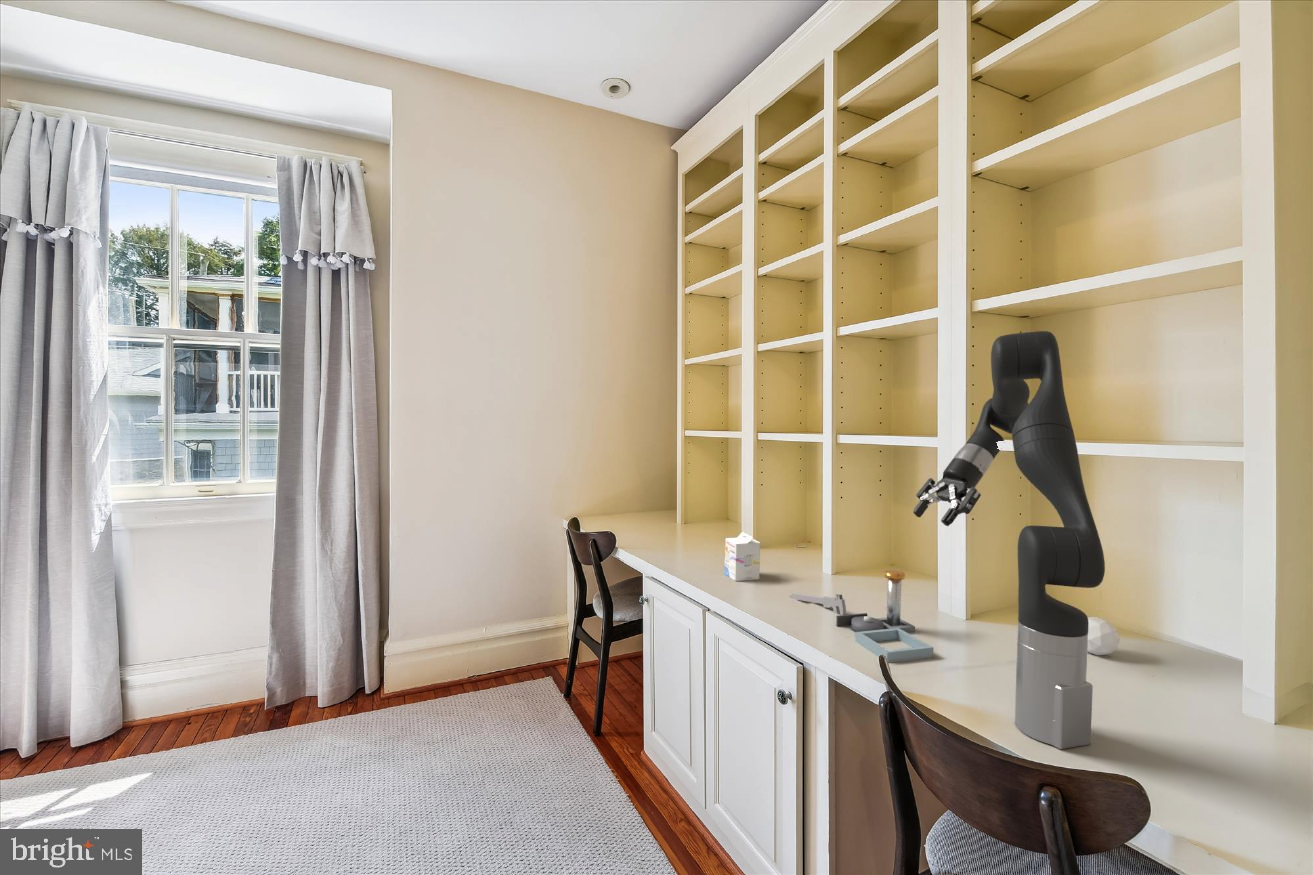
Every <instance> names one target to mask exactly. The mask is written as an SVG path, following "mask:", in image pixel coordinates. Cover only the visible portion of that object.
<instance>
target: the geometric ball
mask: <svg viewBox="0 0 1313 875" xmlns="http://www.w3.org/2000/svg"><path fill="white" fill-rule="evenodd" d="M1087 617H1088V616H1087ZM1088 623H1089V625H1088V647H1087V653H1089V654H1092V655H1096V656H1107V655H1108V656H1109V655H1110V654H1112V653H1114V652H1115V651H1116V650H1117V649H1118V647H1119V643H1120V637H1119V636H1120V635H1119V634H1118V630H1117V628H1116V627H1115V626H1114V625H1113V624H1111V623H1110V622H1109V621H1107V620H1105V619H1102V618H1100V617H1096V616H1091V617H1088Z"/></svg>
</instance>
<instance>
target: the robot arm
mask: <svg viewBox="0 0 1313 875" xmlns="http://www.w3.org/2000/svg"><path fill="white" fill-rule="evenodd" d="M990 350H991V352H990V365H991V366H990V369H991V381H992V385H993V393H992V397H990V398H989V399H988V400H987V401H986V402H985V403H984V404H983V407H982V409H981V412H980V417H979V419H978V423H977V425H976V427H975V429H974V431H973V432H972V434H971V435H970V437H969V438H968V440H967V441H966V442H965V444H964V445H963V446H962V447H961V448H960V449H959V450H958V451H957V453H955V455H954V456H953V458H952V459H951V461H950V462H949V463H948V465H947V466H946V468H945V469H944V470H943V473H942V478H941V479H940V480H938V481H937V480H934V479H933V478H932V477H930V478H928V479H927V480H926V482H925V483H924V484H923V485H922V487H921V488H920V489H919V490H918V491H917V493H916V494H915V496H916V497H917V498H918V500H919V501H918V503H917V504H916V506H915V507H914V508H913V511H912V513H913V514H914V515H915V516H916V517H917V518H922V516H923V515H924V513H925V512H926V510H927V509H928V508H929V506H930V505H931V504H935V503H939V502H941V501H942V502H947V503H950V505H951V508H950V507H949V508H948V509H947V511H946V512H945V514H944V515H943V516H942V517H941V520H940V522H941V523H942V524H943V525H944V526H946V527H949V526H950V525H952V524H953V523H954V521H955V520H956V518H957V517H958V516H959V515H961V514H965V515H969V514H970V513H971V511H972V510H973V508H974V507H975V506H976V503H977V502H978V501H979V499H980V498H981V496H982V495H981V493H980V491H979V490H978V489H977V488H976V487H977V485H978V484H979V482H980V481H981V480H982V478H983V477H984V475H985V474H986V473H987V472H988V470H989V468H990V466H991V464H992V463H993V461H994V459H995V458H996V456H997V455H998V454H999V453H1000V451H1001V450H999V449H997V448H998V446H997V443H996V442H998V441H1004V442H1005V440H1004V438H1003V436H1002V435H1001V434H1000V433H999V432H997V431H996V430H995V429H994V427H995V428H996V429H999V430H1001V431H1003V432H1006V433H1007V434H1010V435H1011V439H1012V447H1013V452H1014V453H1013V455H1014V459H1015V463H1016V466H1017V468H1018V469H1019V471H1020V473H1021V474H1023V476H1024V477H1025V478H1026V479H1027V481H1029V482H1030V484H1031V485H1033V487H1034V488H1036V489H1037V490H1038V491H1039V492H1040V493H1041V494H1042V495H1043V496H1044V497H1045V498H1046V499H1047V501H1048V502H1050V504H1051V505H1052V506H1053V508H1054V509H1055V510H1056V513H1057V514H1058V516H1059V518H1060V520H1061V522H1062V524H1063V526H1051V525H1050V526H1049V525H1046V526H1045V525H1026V526H1024V527H1023V528H1022V529H1021V531H1020V532H1019V536H1018V539H1017V572H1018V573H1017V574H1018V575H1017V576H1018V577H1017V578H1018V579H1017V580H1018V587H1017V589H1018V592H1017V594H1018V595H1017V596H1018V597H1017V601H1018V602H1017V603H1018V606H1017V607H1018V616H1017V638H1016V640H1017V642H1016V670H1015V671H1016V673H1015V674H1016V675H1015V700H1014V702H1015V703H1014V704H1015V705H1014V706H1015V708H1014V724H1015V726H1016V728H1017V729H1018V730H1019V731H1020V732H1022V733H1023V734H1025V735H1027V736H1028V737H1030V738H1033V739H1034V740H1037V741H1040V742H1042V743H1044V744H1049V745H1051V746H1054V747H1055V748H1057V749H1059V750H1063V749H1068V748H1069V749H1070V748H1075V747H1080V746H1087V745H1091V742H1092V740H1091V738H1092V719H1093V718H1092V717H1093V716H1092V715H1093V714H1092V713H1093V687H1094V686H1093V684H1092V683H1091V682H1089V681H1087V670H1088V667H1087V666H1088V665H1087V664H1088V652H1087V647H1088V625H1089V623H1088V616H1087V614H1086V613H1085V612H1084V611H1082V610H1081V609H1079V608H1078V607H1075V606H1074V605H1071V604H1069V603H1066V602H1062V601H1061V600H1059V599H1056V598H1055V597H1053V596H1051V595H1050V594H1048V593H1047V589H1046V585H1049V586H1061V587H1070V588H1071V587H1072V588H1082V589H1083V588H1084V589H1090V588H1091V589H1092V588H1094V589H1095V588H1096V587H1098V586H1100V585H1101V584H1102V583H1103V581H1104V577H1105V571H1106V570H1105V569H1106V563H1105V554H1104V550H1103V546H1102V542H1101V538H1100V534H1099V532H1098V529H1097V525H1096V523H1095V520H1094V516H1093V514H1092V510H1091V506H1090V504H1089V500H1088V496H1087V494H1086V490H1085V486H1084V480H1083V475H1082V470H1081V469H1082V468H1081V466H1080V458H1079V450H1078V447H1077V442H1076V438H1075V433H1074V432H1075V431H1074V429H1073V425H1072V422H1071V416H1070V413H1069V410H1068V406H1067V400H1066V395H1065V389H1064V382H1063V373H1062V364H1061V356H1060V348H1059V345H1058V340H1057V338H1056V336H1055V335H1054V334H1053V333H1052V332H1050V331H1048V330H1047V331H1046V330H1037V331H1036V330H1035V331H1026V332H1017V333H1010V334H1005V335H1000V336H998V337H997V338H995V340H994V341H993V343H992V346H991V349H990ZM1035 379H1038V380H1040V384H1039V386H1038V389H1037V391H1036V393H1035V394H1034V396H1033V398H1032V399H1031V401H1030V402H1029V399H1030V395H1031V394H1030V393H1031V392H1030V387H1029V385H1028V383H1027V382H1026V380H1035ZM935 493H936V495H935Z"/></svg>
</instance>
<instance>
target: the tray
mask: <svg viewBox="0 0 1313 875" xmlns="http://www.w3.org/2000/svg"><path fill="white" fill-rule="evenodd" d="M854 633H855V635H854V636H855V638H854V642H855V643H857V644H859V645H860V646H861V647H863V648H865V649H866V650H867V651H869V652H870V653H872V654H874V655H875V656H876V657H878V658H879V656H880V655H881V654H883V655H884V656H886V658H887V662H886V663H894V662H903V661H912V660H920V659H928V658H929V659H930V658H934V646H931V645H930V644H929V643H926V641H923V640H922V639H919V638H917V636H914V635H913V634H911V635H910V634H908V633H907V632H905V631H903V630H901V629H899V628H893V629H883V630H873V631H863V632H854ZM890 640H891V641H892V640H898V641H900V642H901V643H904V644H906V645H907V646H909V647H904V648H895V649H888V648H886V647H884V646H882V645H881V644H880V643H878V642H882V641H890Z"/></svg>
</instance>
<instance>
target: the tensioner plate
mask: <svg viewBox="0 0 1313 875" xmlns="http://www.w3.org/2000/svg"><path fill="white" fill-rule="evenodd" d="M835 623H836V624H835V625H836V627H845V628H847V629H848V630H850V631H853V633H855V632H863V631H873V630H883V629H893V628H899V629H901V630H903V631H905V632H907V633H908V634H910V635H919V634H920V633H919V632H918V631H916V626H915V625H913V624H912V623H909V622H907V621H906V620H903V619H902V618H901V619H900V626H892V627H891V626H890V625H888V624H887V616H885V617H877V618H875V617H871V616H868V613H867V612H861V613H853V614H851V613H850V614H846V615H840V614H839V615H836V622H835Z"/></svg>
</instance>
